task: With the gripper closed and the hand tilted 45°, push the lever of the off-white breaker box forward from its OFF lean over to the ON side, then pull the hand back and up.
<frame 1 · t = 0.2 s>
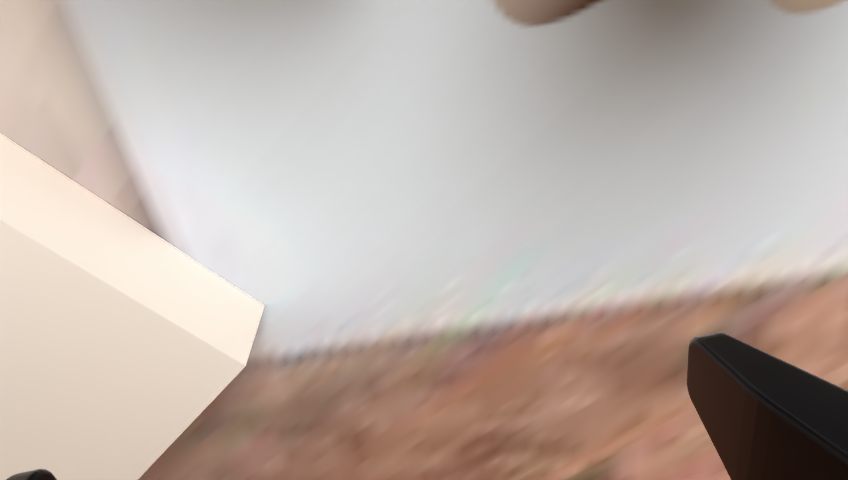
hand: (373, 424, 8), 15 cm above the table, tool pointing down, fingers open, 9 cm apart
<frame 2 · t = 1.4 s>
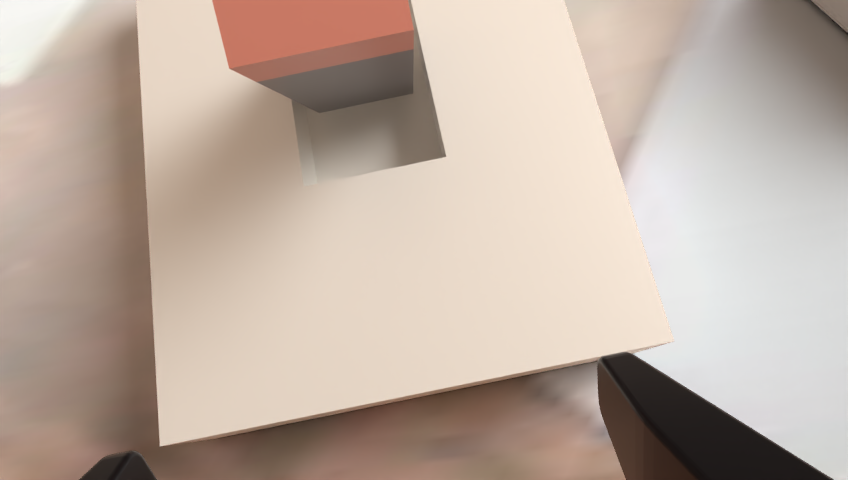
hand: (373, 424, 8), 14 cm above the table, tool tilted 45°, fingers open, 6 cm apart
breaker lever: (342, 44, 17), point 8 cm above the table, hinge at -25.0°
breaker box: (371, 114, 24), on the table
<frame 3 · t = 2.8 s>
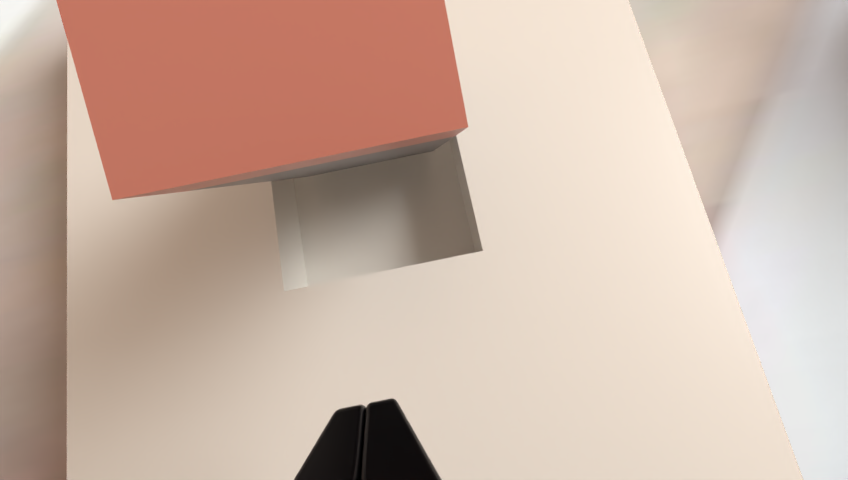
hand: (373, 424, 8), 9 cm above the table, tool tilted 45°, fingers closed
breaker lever: (336, 104, 11), point 8 cm above the table, hinge at -25.0°
breaker box: (377, 171, 19), on the table
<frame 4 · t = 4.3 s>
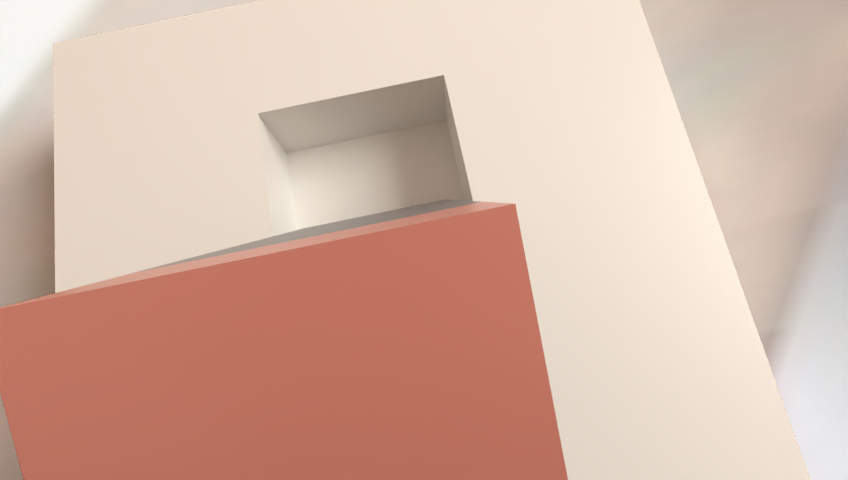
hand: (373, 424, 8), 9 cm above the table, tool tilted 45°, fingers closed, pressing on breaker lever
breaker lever: (363, 292, 9), point 8 cm above the table, hinge at -20.2°, touching gripper
breaker box: (397, 288, 17), on the table
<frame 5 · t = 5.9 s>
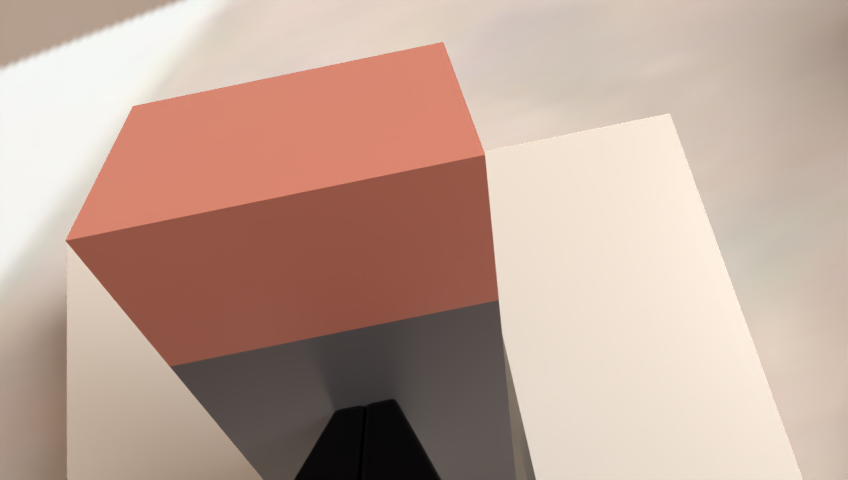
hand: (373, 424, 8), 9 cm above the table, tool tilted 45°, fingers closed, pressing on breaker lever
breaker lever: (386, 400, 10), point 7 cm above the table, hinge at 29.7°, touching gripper
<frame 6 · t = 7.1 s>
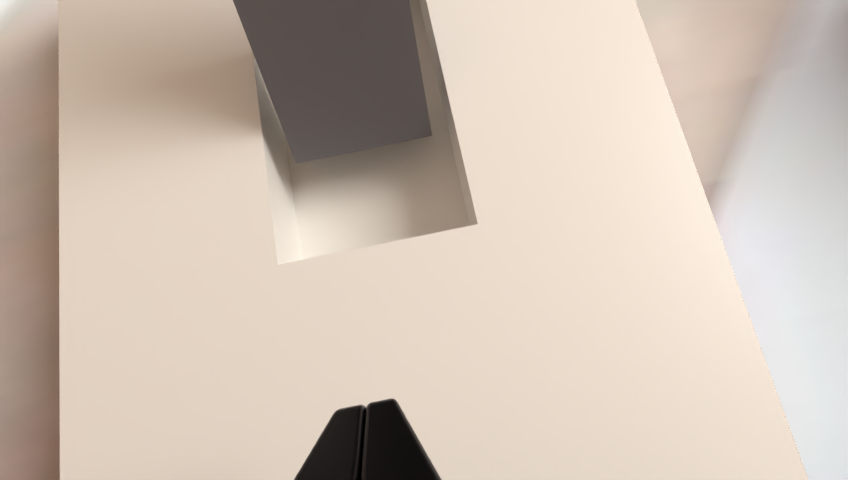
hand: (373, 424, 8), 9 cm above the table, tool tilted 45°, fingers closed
breaker box: (372, 150, 19), on the table
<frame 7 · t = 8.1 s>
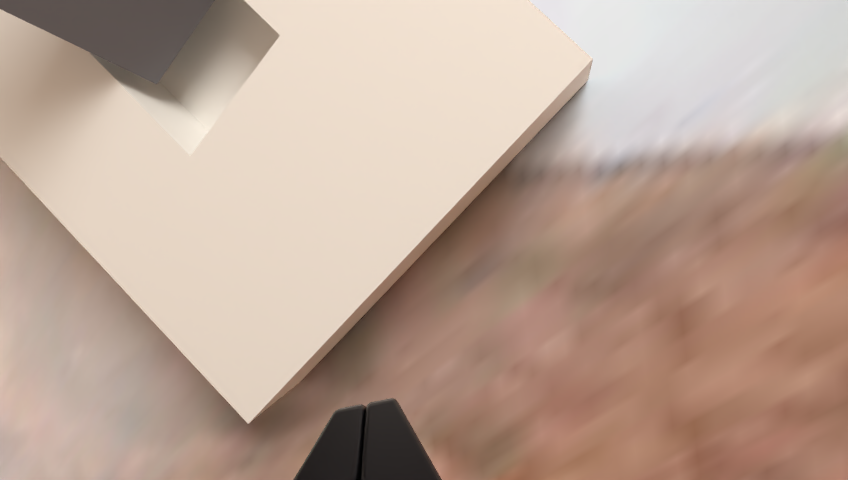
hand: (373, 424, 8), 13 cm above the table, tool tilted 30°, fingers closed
breaker box: (214, 31, 22), on the table
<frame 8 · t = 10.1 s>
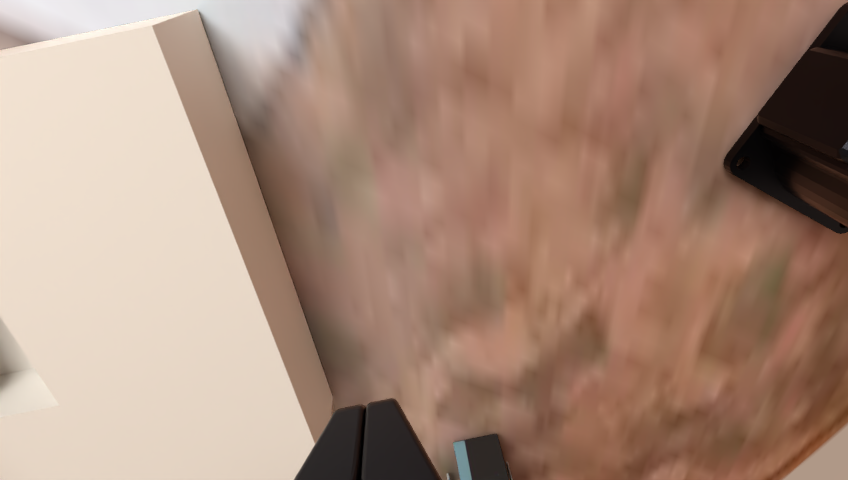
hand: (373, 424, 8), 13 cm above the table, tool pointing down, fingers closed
push button: (478, 474, 28), on the table
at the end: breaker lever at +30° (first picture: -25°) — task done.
